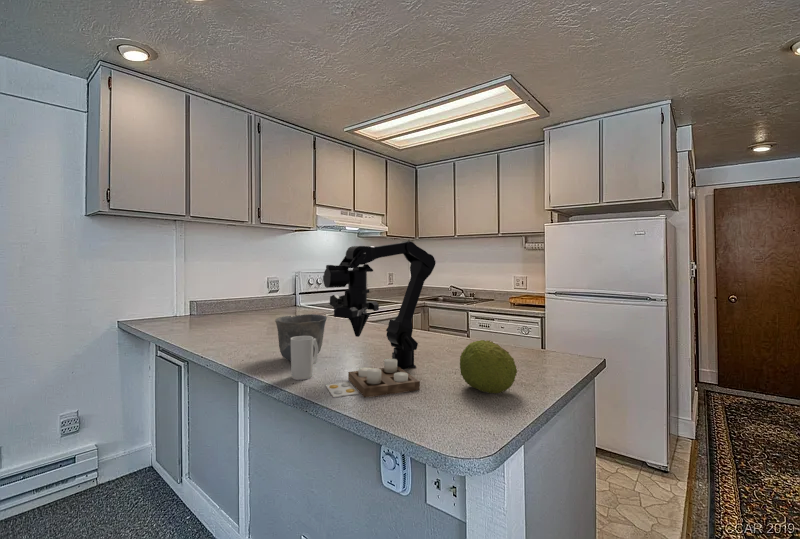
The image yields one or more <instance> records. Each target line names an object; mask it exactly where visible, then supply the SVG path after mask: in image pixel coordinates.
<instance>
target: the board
mask: <svg viewBox="0 0 800 539" xmlns="http://www.w3.org/2000/svg"><path fill="white" fill-rule="evenodd" d="M378 369H381V383H379V384H368V383H367V377H360V378H359V377H358V370H353V371H352V370H351V371H348V373H347V374H348V375H347V376H348V378H347V379H348V382H350V383H351V384H352V385H353V387H354V388H355V389H356V390H357V391H358V392H359V394H360V395H361V396H362V397H363V398H364V399H365V398H373V397H378V396H379V397H380V396H386V395H387V396H388V395H393V394H401V393H407V392H413V391H415V392H416V391H420V389H421V387H420V386H421V384H420V380H418V379H417V378H415V377H414V376H413V375H411V374H410V373H408V372H407V371H405V369H401V368H400V367H398V366H397V372H405V373H408V381H404V382H395V381H394V373H397V372H394V373H387V372H384V367H380V368H378Z"/></svg>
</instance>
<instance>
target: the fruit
mask: <svg viewBox="0 0 800 539" xmlns="http://www.w3.org/2000/svg"><path fill="white" fill-rule="evenodd" d="M459 357H460V358H459V369H460V375H461V377H462V379H463V380H464V382H465V383H466V384H467V385H469V387H471V388H473V389H476V390H479V391H480V392H483V393H488V394H501V393H503V392H506V391H507V390H508V389H510V388H511V387H512V386H513V384H514V382H515V381H516V380H515V379H516V376H517V374H518V369H517V364H516V362H515V359H514V357H512V355H511V354H510V352H509V351H508V350H505V348H502V346H500V344H498V343H495V342H494V341H490V340H485V339H481V340H476V341H472V342H470V343H468V345H467V346H466V347H465V349H463V350H462V352H461V354H460V355H459Z"/></svg>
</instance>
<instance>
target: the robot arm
mask: <svg viewBox="0 0 800 539" xmlns="http://www.w3.org/2000/svg"><path fill="white" fill-rule="evenodd" d="M401 254H402V255H403V256H404V258H405V259H406V260H407V262H409V263H410V264H409V270H410V271H409V273H410V278H409V281H408V285H407V288H406V291H405V293H404V296H403V299H402V302H401V306H400V308H399V311H398V315H397V317H396V318H395V319H389V322H388V326H387V328H386V329H385V331H386V339H387V340H388V342H390V346H391V347H392V348H393V352H391V359H397V366H398V367H400V368H401V369H403V370H405V369H412V368H414V369H415V368H417V365H415V351H417V350H418V346H419V343H418V342H417V341H416V340H415V339H414V338H413V337H412V335H413V330H414V329H413V324H412V323H413V322H412V320H413V317H414V314H415V312H416V308H417V305H418V303H419V300H420V296H421V293H422V290H423V286H424V284H425V282H426V280H427V279H428V277H429V276H431V275H432V273H433V271H434V268H435V267H436V263H437V262H436V258H435V257H434V256H433V254H430V253H428V252H427V251H426V250H424V249H423V248H421V247H419V246H418V245H416V244H415V243H414V242H413V241H410V240H406V241H401V242H396V243H395V242H394V243H390V244H383V245H377V246H376V245H375V246H371V245H353V246H350V247H348V248H347V250H346V252H345V256H344V257H343V259H342V260H341V261H340V263H339V264H337V265H333V264H326V265H325V269H324V272H323V276H322V282H323V284H324V287H325V288H327V289H329V288H331V289H332V288H345V287H348V288H347V289H345V290H344V295H340V296H339V295H338V294H332V295H330V297H329V306H331V307H332V308H333V317H334V318H346V319H348V320H349V322H350V325H351V327H352V331H353V333H354V335H355V337H357V338H358V337H360V336H361V335H362V332H363V329H364V327H365V325H366V324H367V321H368V320H369V317H370V316H371V315H372V314H371V313H370V312H368V311H367V310H372V311H373V312H376V311H379V309H380V305H379V303H378V302H377V301H372V300H371V301H370V300H367V299H368V296H367V295H368V294H369V293H370V289H368V287H367V286H368V284H367V283H368V276H367V275H368V274H367V272H368V273H369V272H370V273H371V272H374V269H373V268H372V267H371V266H370V265H369V263H371V262H373V261H375V260H377V259H380V258H386V257H392V256H397V255H401ZM361 265H362V266H361Z"/></svg>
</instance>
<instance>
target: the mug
mask: <svg viewBox="0 0 800 539" xmlns="http://www.w3.org/2000/svg"><path fill="white" fill-rule="evenodd" d="M313 345H314V347H315V354H314V357H313ZM318 356H319V353H318V345H317V342H316V339H315V338H314V339H313V337H312V336H296V337H292V338H291V361H290V367H291V368H290V369H291V378H292V379H293V380H294V381H295V380H296V381H297V380H298V381H303V380H305V381H306V380H308V379H312V378H313V376H314V365H315V364H316V363H317V360H318ZM316 365H317V364H316Z"/></svg>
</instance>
